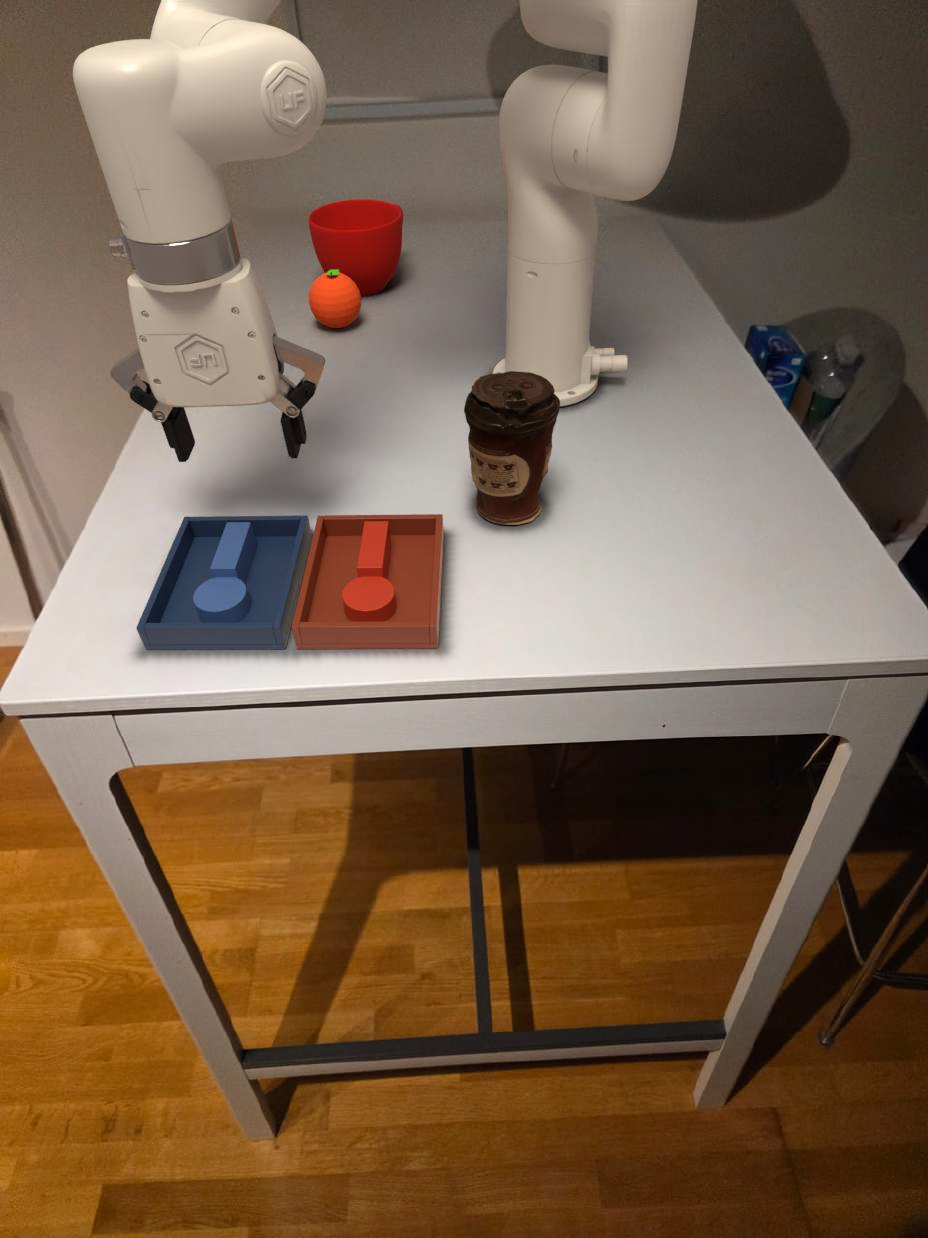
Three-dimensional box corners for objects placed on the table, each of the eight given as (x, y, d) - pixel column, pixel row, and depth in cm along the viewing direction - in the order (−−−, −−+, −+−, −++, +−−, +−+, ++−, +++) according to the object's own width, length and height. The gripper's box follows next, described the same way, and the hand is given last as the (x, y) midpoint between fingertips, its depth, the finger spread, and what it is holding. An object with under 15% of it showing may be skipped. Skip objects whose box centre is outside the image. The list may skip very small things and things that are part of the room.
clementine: (318, 311, 111) (310, 259, 106) (367, 310, 111) (362, 258, 106) (308, 337, 106) (299, 283, 101) (360, 336, 105) (354, 282, 100)
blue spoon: (221, 546, 74) (214, 522, 72) (268, 545, 74) (262, 521, 72) (192, 627, 66) (183, 602, 64) (244, 626, 66) (237, 602, 64)
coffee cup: (523, 546, 74) (529, 422, 65) (448, 518, 77) (443, 397, 68) (566, 498, 79) (576, 377, 70) (494, 474, 82) (495, 355, 73)
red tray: (443, 535, 75) (442, 513, 73) (438, 648, 65) (436, 626, 63) (321, 537, 76) (317, 515, 74) (296, 649, 65) (291, 627, 63)
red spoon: (355, 545, 74) (352, 520, 72) (403, 544, 73) (400, 520, 72) (341, 626, 66) (337, 601, 64) (394, 626, 66) (391, 601, 64)
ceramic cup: (438, 270, 121) (435, 199, 114) (371, 312, 111) (363, 237, 104) (370, 255, 126) (363, 186, 119) (300, 293, 116) (288, 220, 109)
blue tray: (312, 537, 76) (308, 515, 74) (285, 649, 65) (279, 627, 63) (191, 538, 76) (184, 516, 74) (145, 650, 65) (135, 627, 64)
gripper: (49, 277, 55) (132, 479, 68) (295, 267, 55) (334, 473, 67) (85, 236, 61) (156, 431, 73) (310, 227, 60) (344, 424, 72)
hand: (241, 451), depth 70 cm, fingers open, 9 cm apart
